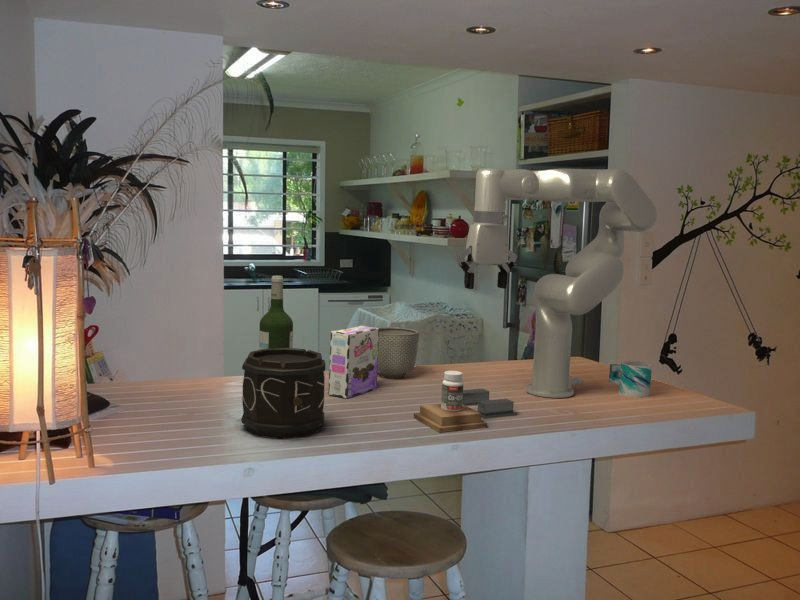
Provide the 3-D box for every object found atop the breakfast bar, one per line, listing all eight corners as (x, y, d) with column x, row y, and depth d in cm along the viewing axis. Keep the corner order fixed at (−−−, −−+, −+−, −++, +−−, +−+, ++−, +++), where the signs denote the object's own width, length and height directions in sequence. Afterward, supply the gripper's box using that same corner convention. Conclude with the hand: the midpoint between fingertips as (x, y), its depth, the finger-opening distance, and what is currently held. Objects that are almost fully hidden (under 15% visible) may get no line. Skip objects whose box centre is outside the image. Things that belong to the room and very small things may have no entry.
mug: (634, 398, 197) (637, 367, 196) (601, 388, 207) (603, 358, 206) (656, 395, 201) (658, 365, 200) (622, 386, 211) (624, 356, 210)
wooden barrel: (250, 444, 147) (251, 365, 145) (232, 419, 163) (233, 348, 161) (337, 436, 154) (340, 361, 152) (312, 413, 170) (314, 345, 168)
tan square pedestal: (459, 413, 176) (459, 400, 175) (486, 427, 165) (487, 414, 164) (413, 417, 170) (414, 404, 170) (439, 432, 160) (440, 419, 159)
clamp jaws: (481, 399, 190) (482, 387, 189) (517, 415, 176) (517, 402, 176) (451, 401, 186) (451, 390, 185) (484, 418, 172) (485, 405, 172)
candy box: (346, 399, 184) (348, 333, 182) (327, 395, 187) (329, 330, 185) (377, 389, 196) (380, 327, 194) (359, 385, 199) (361, 324, 197)
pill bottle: (447, 412, 164) (449, 375, 163) (437, 407, 168) (438, 371, 167) (466, 411, 166) (468, 374, 165) (455, 405, 171) (456, 369, 170)
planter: (372, 369, 220) (374, 325, 218) (419, 372, 218) (421, 328, 216) (364, 379, 206) (365, 333, 204) (414, 383, 204) (416, 336, 203)
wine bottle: (297, 400, 181) (300, 277, 178) (271, 405, 176) (274, 278, 172) (277, 393, 187) (280, 274, 183) (251, 398, 181) (253, 275, 177)
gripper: (509, 219, 191) (505, 286, 193) (451, 217, 184) (447, 287, 186) (527, 220, 185) (523, 289, 187) (467, 218, 177) (463, 290, 179)
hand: (485, 288), depth 186 cm, fingers open, 9 cm apart
